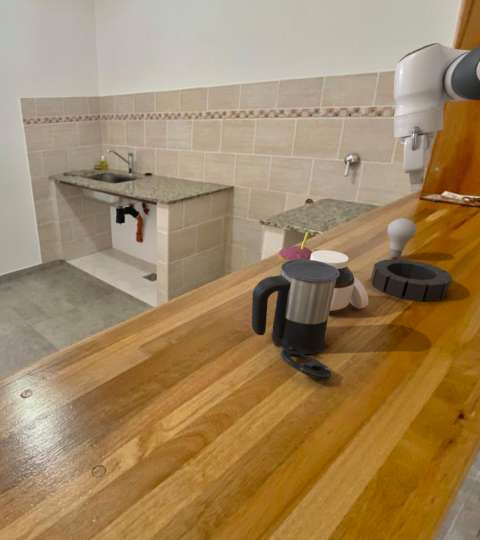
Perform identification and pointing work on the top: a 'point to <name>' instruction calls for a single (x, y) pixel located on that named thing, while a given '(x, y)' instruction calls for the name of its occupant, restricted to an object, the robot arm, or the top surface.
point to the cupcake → (295, 252)
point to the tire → (411, 280)
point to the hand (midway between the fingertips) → (417, 187)
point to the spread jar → (342, 282)
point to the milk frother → (298, 311)
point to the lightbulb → (400, 235)
